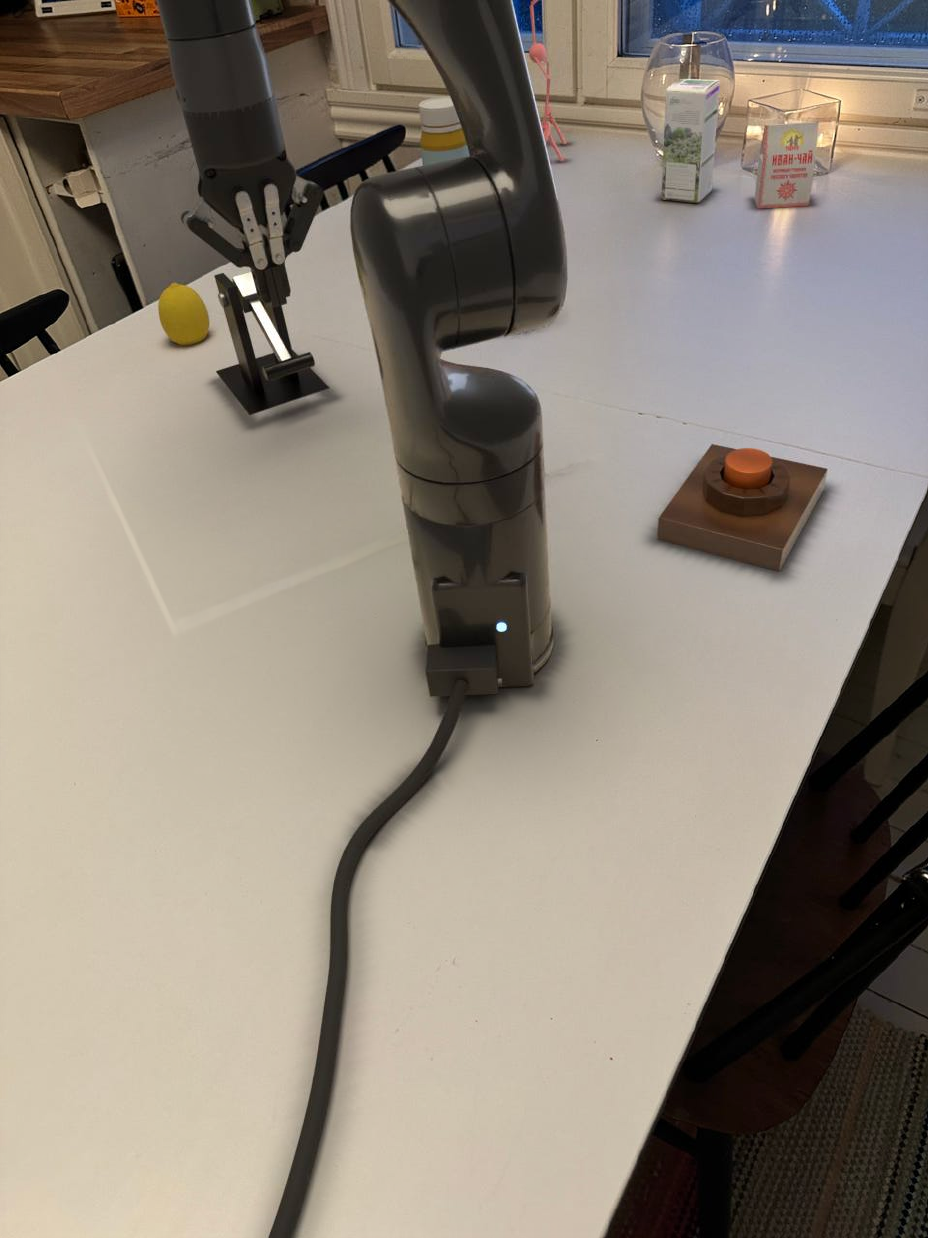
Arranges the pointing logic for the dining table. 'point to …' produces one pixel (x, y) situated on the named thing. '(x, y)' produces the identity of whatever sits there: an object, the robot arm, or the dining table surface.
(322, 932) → the dining table surface
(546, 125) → the figurine
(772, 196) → the tea box
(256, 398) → the bracket
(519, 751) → the dining table surface
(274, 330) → the lever
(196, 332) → the lemon
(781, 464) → the button box
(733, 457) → the button
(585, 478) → the dining table surface
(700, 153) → the syrup box
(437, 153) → the bottle
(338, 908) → the robot arm
